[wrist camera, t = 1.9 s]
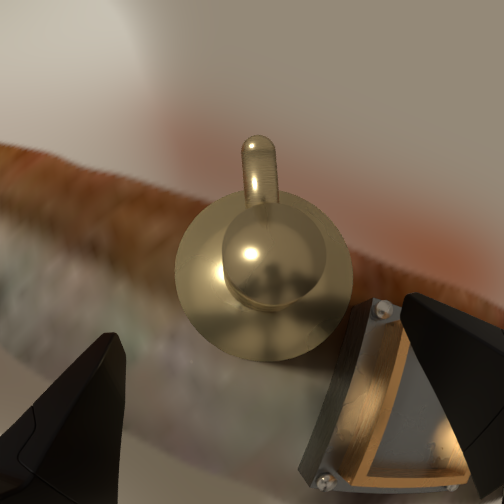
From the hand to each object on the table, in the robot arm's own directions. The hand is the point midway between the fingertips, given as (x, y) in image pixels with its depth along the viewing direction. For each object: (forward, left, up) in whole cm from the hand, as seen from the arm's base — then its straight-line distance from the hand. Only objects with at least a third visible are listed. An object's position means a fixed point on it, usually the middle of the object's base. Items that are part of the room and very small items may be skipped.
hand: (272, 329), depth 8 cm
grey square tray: (-10, -6, -9) cm, 14 cm away
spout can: (+1, -1, -9) cm, 9 cm away
